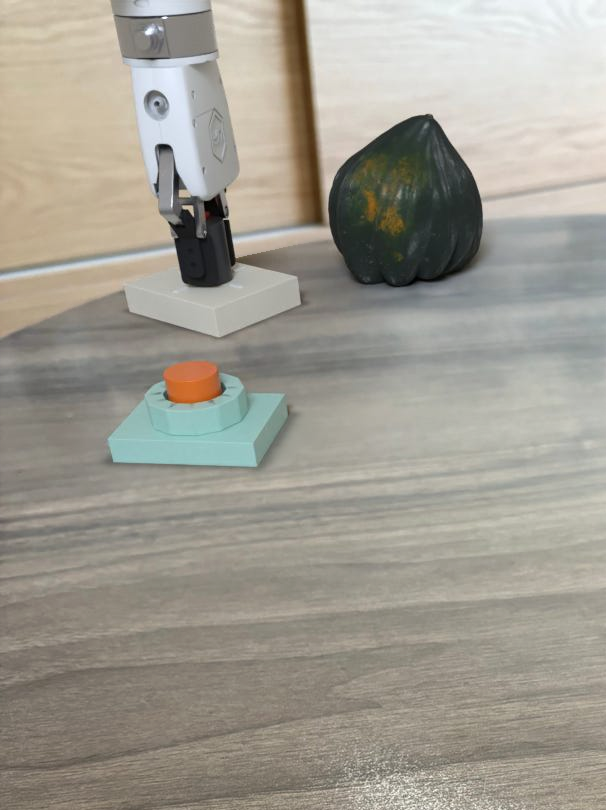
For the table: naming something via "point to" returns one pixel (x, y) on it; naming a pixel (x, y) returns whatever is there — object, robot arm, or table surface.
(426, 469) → the table surface
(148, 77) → the robot arm
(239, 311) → the grey base plate
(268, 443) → the switch block
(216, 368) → the power button
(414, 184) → the squash
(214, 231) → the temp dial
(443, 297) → the table surface
